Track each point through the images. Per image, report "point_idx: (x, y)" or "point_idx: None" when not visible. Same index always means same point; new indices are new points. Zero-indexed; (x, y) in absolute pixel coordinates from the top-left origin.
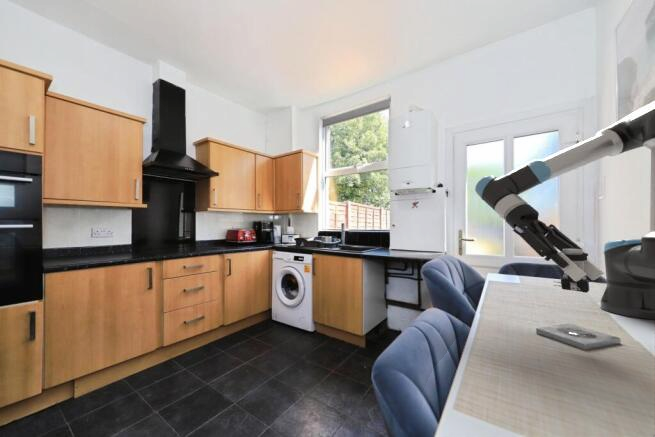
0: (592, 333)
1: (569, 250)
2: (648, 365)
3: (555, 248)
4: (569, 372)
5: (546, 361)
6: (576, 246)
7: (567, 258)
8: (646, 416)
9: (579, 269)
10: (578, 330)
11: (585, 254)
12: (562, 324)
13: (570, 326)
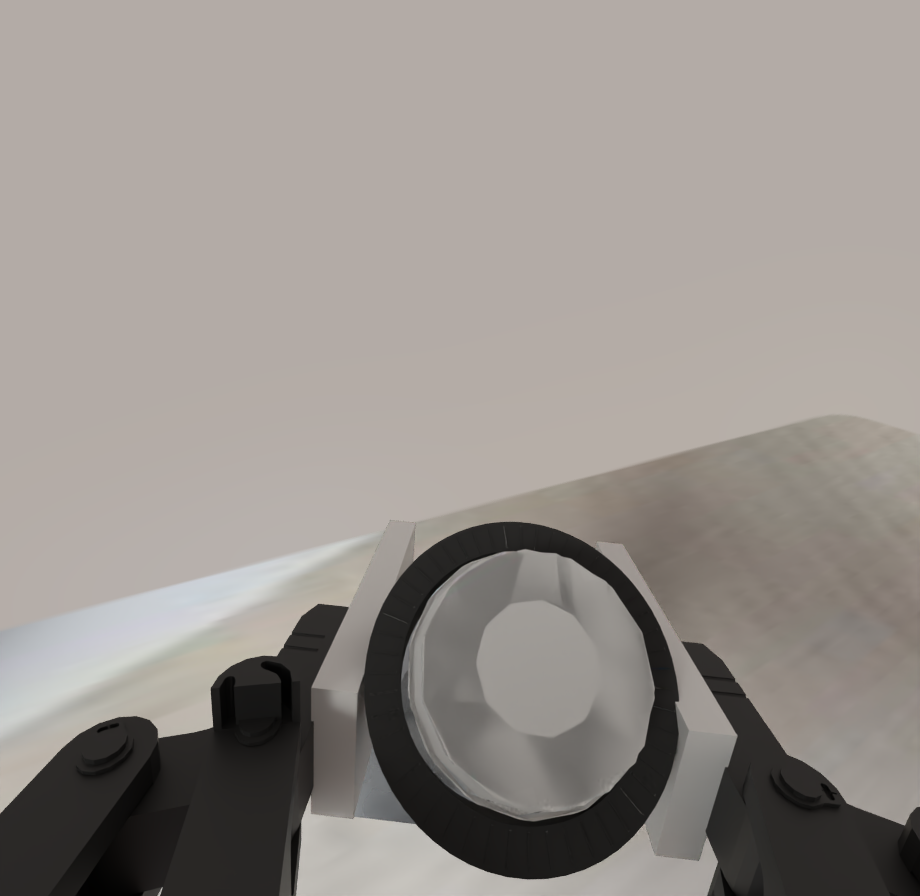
0: (403, 671)
1: (642, 651)
2: (517, 497)
3: (771, 839)
4: (790, 563)
5: (799, 629)
6: (94, 805)
7: (678, 652)
8: (799, 424)
9: (635, 567)
10: (414, 721)
11: (529, 529)
12: (378, 818)
13: (380, 775)
